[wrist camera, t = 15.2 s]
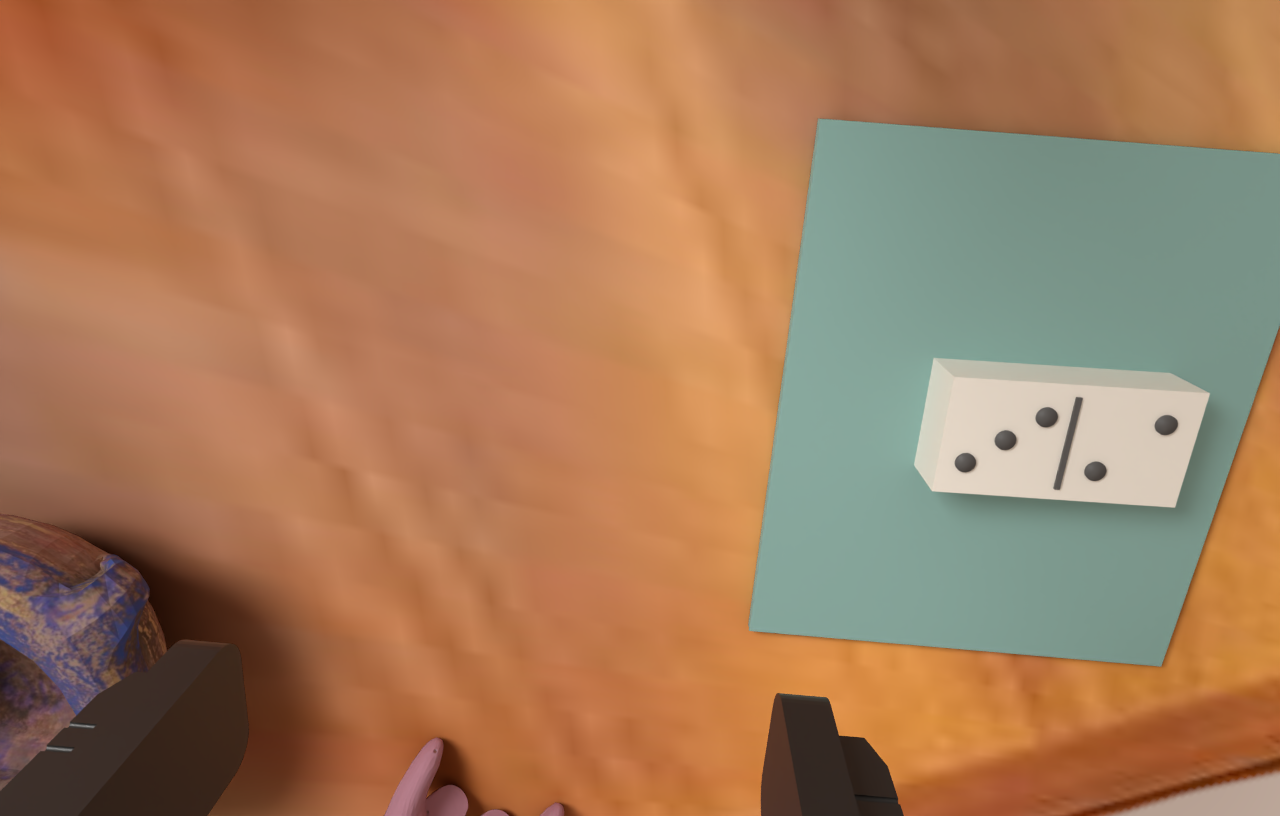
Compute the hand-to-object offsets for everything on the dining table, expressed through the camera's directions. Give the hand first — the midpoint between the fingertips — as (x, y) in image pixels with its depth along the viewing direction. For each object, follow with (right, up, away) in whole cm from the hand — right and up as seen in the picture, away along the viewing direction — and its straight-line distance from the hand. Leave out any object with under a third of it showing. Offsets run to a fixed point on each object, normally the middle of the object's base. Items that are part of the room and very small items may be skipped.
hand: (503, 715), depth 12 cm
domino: (+16, +4, +26) cm, 30 cm away
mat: (+20, +4, +28) cm, 34 cm away
